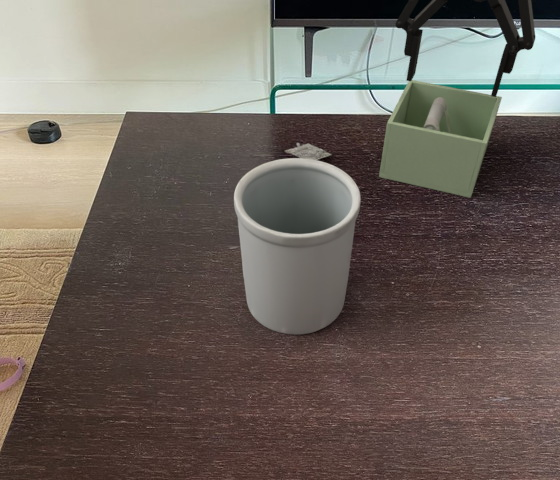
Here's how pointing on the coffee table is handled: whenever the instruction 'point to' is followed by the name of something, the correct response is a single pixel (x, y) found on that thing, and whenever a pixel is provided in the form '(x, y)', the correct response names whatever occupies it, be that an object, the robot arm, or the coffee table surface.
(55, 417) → the coffee table surface
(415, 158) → the bin
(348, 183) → the utensil holder
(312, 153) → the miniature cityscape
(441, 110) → the tablet stand
